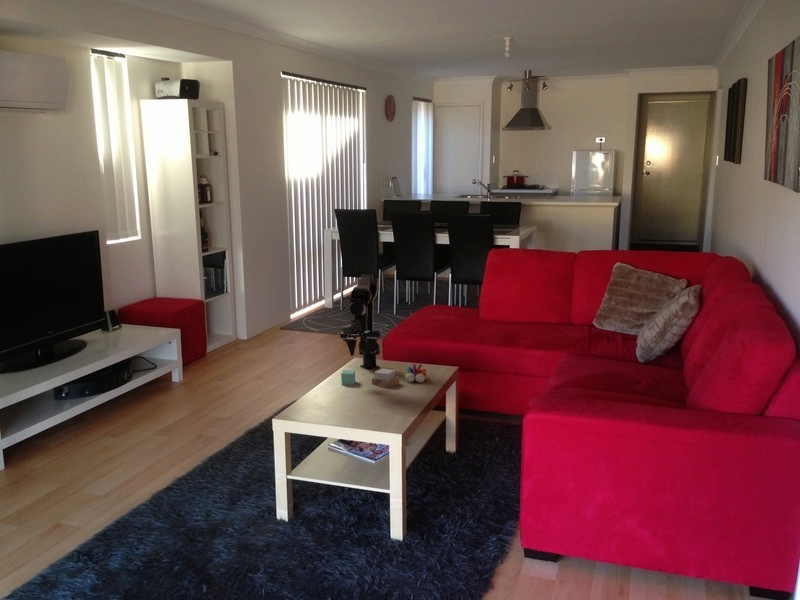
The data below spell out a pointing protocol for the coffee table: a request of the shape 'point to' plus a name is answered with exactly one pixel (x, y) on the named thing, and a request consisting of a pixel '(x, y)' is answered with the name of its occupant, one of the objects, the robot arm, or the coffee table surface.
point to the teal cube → (348, 377)
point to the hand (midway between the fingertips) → (359, 355)
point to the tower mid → (385, 374)
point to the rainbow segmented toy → (415, 374)
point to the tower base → (385, 382)
